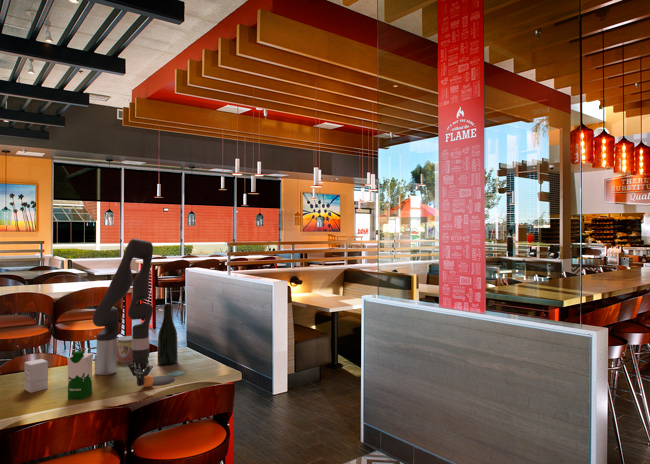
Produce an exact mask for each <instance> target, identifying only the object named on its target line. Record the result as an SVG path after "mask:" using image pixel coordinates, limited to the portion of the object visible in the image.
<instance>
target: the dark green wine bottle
mask: <svg viewBox="0 0 650 464" xmlns="http://www.w3.org/2000/svg"><path fill="white" fill-rule="evenodd" d="M174 323H175V322H174V320H173V305H172V303H170V302H165V303H164V305H163V318H162V323H161V325H160V328H159V330H158V334H157V365H159V366H173V365H176V364H177V363H178V359H179V358H178V357H179V356H178V354H179V353H178V350H179V349H178V332H177V329H176V326H175V324H174Z"/></svg>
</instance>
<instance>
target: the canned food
mask: <svg viewBox="0 0 650 464" xmlns="http://www.w3.org/2000/svg"><path fill="white" fill-rule="evenodd" d="M132 360H133V359H132V335H124V336H120V337H118V338H117V362H121V363H127V362H128V363H130V362H132Z"/></svg>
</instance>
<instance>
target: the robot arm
mask: <svg viewBox="0 0 650 464" xmlns="http://www.w3.org/2000/svg"><path fill="white" fill-rule="evenodd" d="M153 245H154V244H153V243H152V241H151V242H150V241H148V240H145V239H143V240H142V239H138V238H132V239H130V240H129V242H128V244H127V246H126V248H125V250H124V253H123V255H122V259H121V261H120V264H119V266H118V267H117V270H116V272H115V273H114V276H113V277H112V280H111V281H110V284H109V286H108V288H107V290H106V292H105V294H103V295H104V296H103V298H102V299H101V301H100V303H99V304H98V306H97V307H96V308H95V311H94V313H93V314H92V323H93V324H94V326H96V327H99V328H100V327H101V328H102V327H104V328H103V329H102V330H101V331H100V332H98V333H97V334H96V354H95V355H94V374H95V375H97V376H108V375H112V374H115V373H116V372H117V362H118V361H117V339H118V338H117V335H118V333H119V322H120V314H119V310H118V309H117V307H115V305H116V304H117V303H118V302H120V300H121V299H123V298H124V297H125V296H126V295H127V294H128V292H129V290H130V289H131V287H132V295H131V300H130V304H129V307H128V311H127V316H128V318H129V319H130V320H144V321H142V322H141V323H136V324H134V325H133V326H132V331H131V336H132V359H133V360H132V361H131V363H130V364H128V365H127V366H128V368H129V370H130V372H131V374H132V376H133V377H136V384H137V385H136V386H137V387H143V386H142V385H143V384H144V377H145V376H147V375H150V372H151V371H152V369H153V368H154V367H153V365H150V361H149V358H150V337H149V336H150V331H149V330H150V324H151V323H150V322H151V320H152V317H153V313H154V308H153V307H154V306H153V305H152V303H148V302H147V303H139V302H142V301H146V300H147V299H148V298H149V296H150V294H149V293H150V285H149V284H150V283H149V282H150V273H151V267H152V261H153V254H154V246H153ZM133 259H138V260H142V266H141V268H140V269H139V271H138V272H137V274H136V275H135V277H133V276H134V275H133V272H132V267H131V264H132V260H133Z"/></svg>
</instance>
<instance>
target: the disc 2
mask: <svg viewBox="0 0 650 464" xmlns="http://www.w3.org/2000/svg"><path fill="white" fill-rule="evenodd" d="M183 375H185V371H182V370H175V371H170V372H168V373H167V376H171V377H179V376H183Z"/></svg>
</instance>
